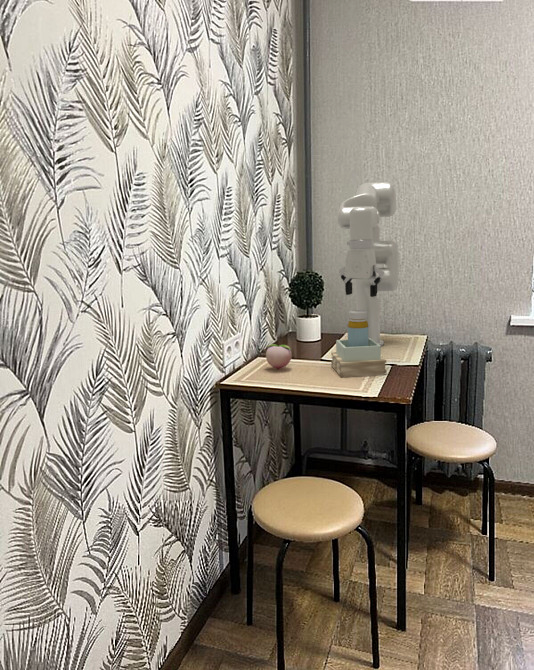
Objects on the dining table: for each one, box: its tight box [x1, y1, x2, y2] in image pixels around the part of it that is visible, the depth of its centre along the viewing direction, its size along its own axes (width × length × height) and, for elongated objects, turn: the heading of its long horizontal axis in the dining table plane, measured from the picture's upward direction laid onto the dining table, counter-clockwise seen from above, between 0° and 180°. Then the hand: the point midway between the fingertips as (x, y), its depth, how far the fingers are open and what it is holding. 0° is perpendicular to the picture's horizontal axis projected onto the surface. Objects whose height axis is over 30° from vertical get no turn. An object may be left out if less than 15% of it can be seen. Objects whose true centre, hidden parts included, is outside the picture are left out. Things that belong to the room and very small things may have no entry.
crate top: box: [335, 338, 382, 362], centre depth 214 cm, size 13×13×5 cm
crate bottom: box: [330, 351, 387, 378], centre depth 215 cm, size 16×16×5 cm
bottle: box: [347, 309, 368, 347], centre depth 212 cm, size 7×7×15 cm
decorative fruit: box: [265, 341, 292, 370], centre depth 218 cm, size 9×8×10 cm
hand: (361, 295), depth 211 cm, fingers open, 9 cm apart
